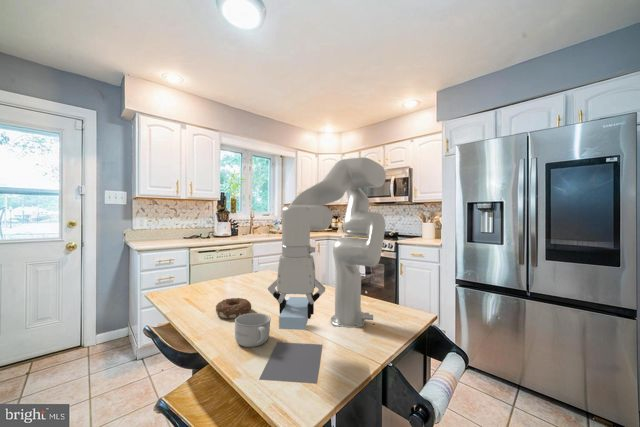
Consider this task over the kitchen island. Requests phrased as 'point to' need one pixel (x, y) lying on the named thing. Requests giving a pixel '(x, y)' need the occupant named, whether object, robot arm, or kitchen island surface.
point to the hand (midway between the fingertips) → (296, 315)
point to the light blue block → (294, 314)
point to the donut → (233, 307)
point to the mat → (293, 363)
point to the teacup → (252, 329)
